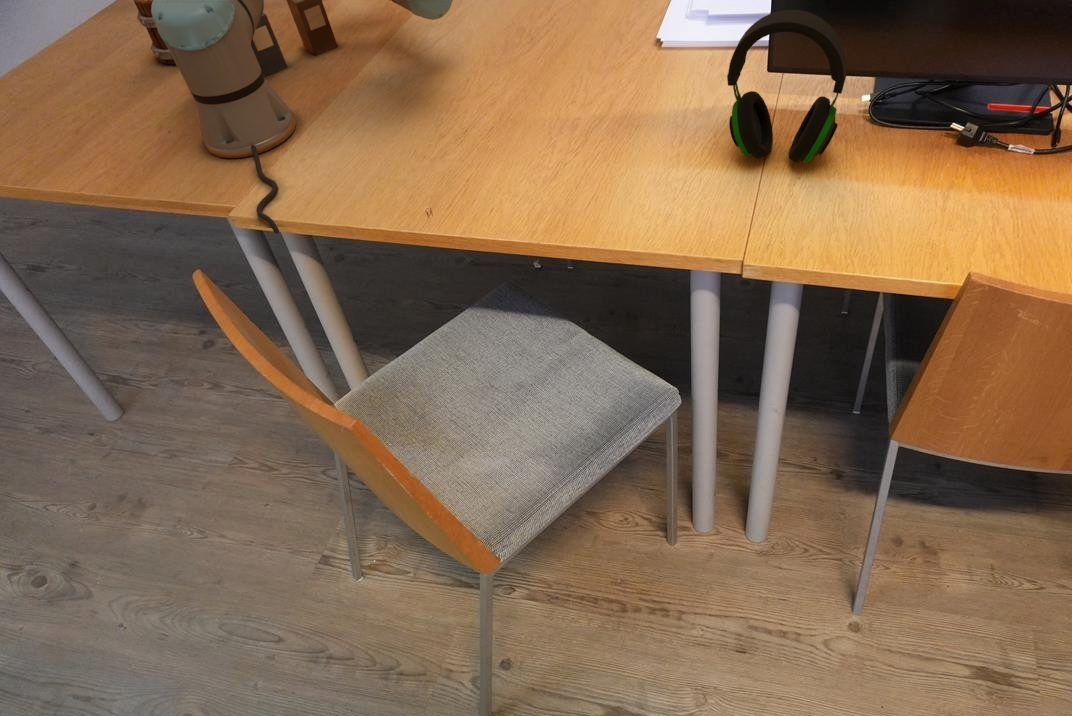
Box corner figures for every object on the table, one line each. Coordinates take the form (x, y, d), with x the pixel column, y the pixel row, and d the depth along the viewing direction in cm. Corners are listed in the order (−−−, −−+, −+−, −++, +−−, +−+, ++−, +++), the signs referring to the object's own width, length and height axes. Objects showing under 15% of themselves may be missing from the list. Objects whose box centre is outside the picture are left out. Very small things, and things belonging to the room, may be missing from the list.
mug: (139, 63, 157) (107, -19, 147) (194, 44, 167) (167, -34, 157) (182, 69, 153) (152, -15, 143) (235, 49, 163) (210, -31, 153)
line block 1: (288, 67, 150) (266, 14, 142) (264, 77, 148) (241, 24, 140) (277, 59, 152) (255, 7, 145) (253, 69, 151) (230, 16, 143)
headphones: (828, 178, 109) (849, 35, 94) (719, 167, 113) (722, 29, 98) (837, 143, 114) (859, 2, 99) (733, 134, 119) (738, -2, 104)
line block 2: (338, 47, 154) (320, -6, 146) (315, 56, 152) (296, 3, 144) (327, 39, 156) (308, -13, 149) (304, 48, 155) (284, -4, 147)
